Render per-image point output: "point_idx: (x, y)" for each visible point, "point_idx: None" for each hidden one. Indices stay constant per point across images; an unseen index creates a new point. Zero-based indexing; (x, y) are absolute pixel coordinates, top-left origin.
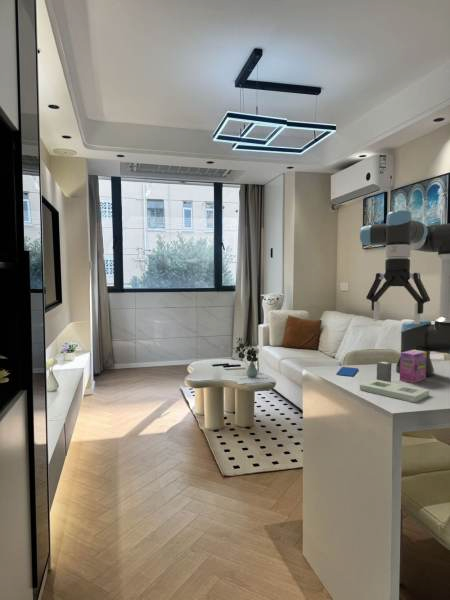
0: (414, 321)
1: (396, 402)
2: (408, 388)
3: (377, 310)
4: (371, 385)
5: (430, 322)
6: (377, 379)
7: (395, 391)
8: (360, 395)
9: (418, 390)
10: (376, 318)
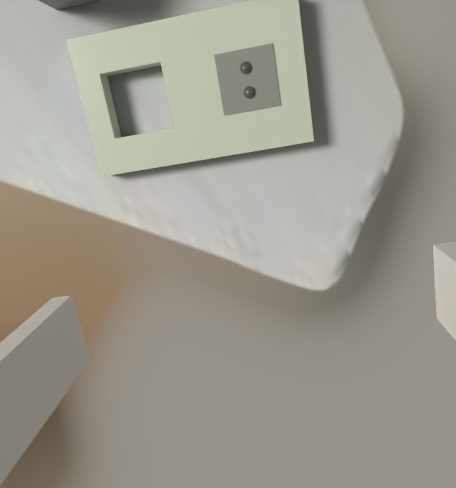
0: (448, 327)
1: (273, 195)
2: (237, 56)
3: (35, 389)
4: (131, 148)
5: None
6: (53, 5)
7: (233, 143)
8: (158, 230)
9: (275, 43)
10: (78, 355)
